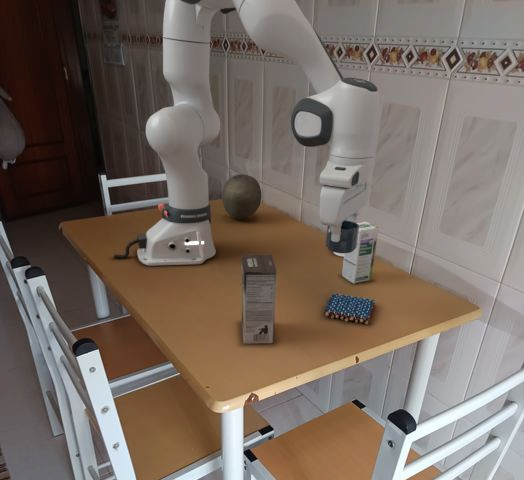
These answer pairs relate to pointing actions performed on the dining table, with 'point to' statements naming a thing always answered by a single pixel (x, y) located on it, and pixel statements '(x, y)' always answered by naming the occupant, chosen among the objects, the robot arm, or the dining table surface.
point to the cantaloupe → (241, 196)
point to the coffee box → (258, 298)
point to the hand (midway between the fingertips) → (342, 235)
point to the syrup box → (361, 255)
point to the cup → (344, 238)
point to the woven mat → (350, 308)
